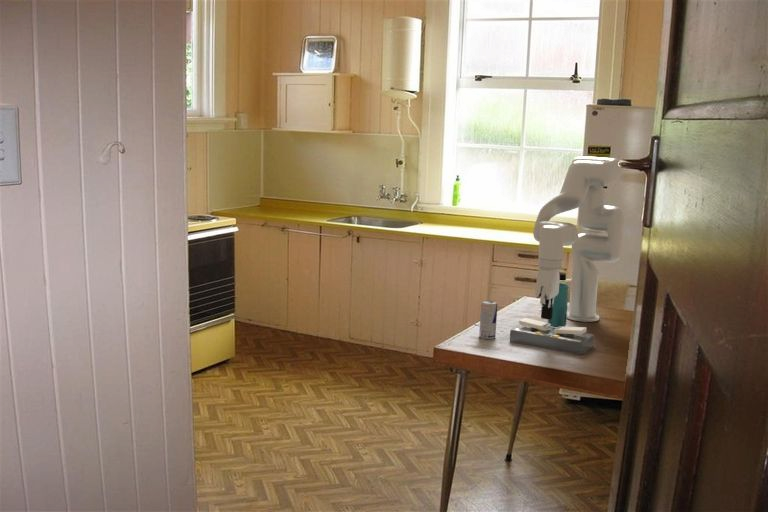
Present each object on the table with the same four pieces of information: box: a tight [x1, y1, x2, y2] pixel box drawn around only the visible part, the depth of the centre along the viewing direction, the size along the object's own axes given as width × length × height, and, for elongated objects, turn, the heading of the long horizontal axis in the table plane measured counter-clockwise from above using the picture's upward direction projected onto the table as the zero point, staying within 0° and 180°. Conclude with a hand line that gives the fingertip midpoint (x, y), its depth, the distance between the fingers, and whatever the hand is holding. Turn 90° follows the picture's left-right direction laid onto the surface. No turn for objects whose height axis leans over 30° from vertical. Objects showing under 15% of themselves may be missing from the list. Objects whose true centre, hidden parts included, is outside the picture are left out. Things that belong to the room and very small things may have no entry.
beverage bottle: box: [546, 272, 570, 328], centre depth 275 cm, size 6×7×20 cm
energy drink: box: [478, 300, 498, 340], centre depth 262 cm, size 5×5×12 cm
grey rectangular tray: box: [509, 324, 595, 356], centre depth 258 cm, size 12×24×5 cm, turn 58°
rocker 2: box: [554, 326, 587, 334], centre depth 254 cm, size 5×9×1 cm, turn 58°
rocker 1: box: [518, 317, 551, 331], centre depth 260 cm, size 5×9×1 cm, turn 58°
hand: (546, 318), depth 259 cm, fingers closed
